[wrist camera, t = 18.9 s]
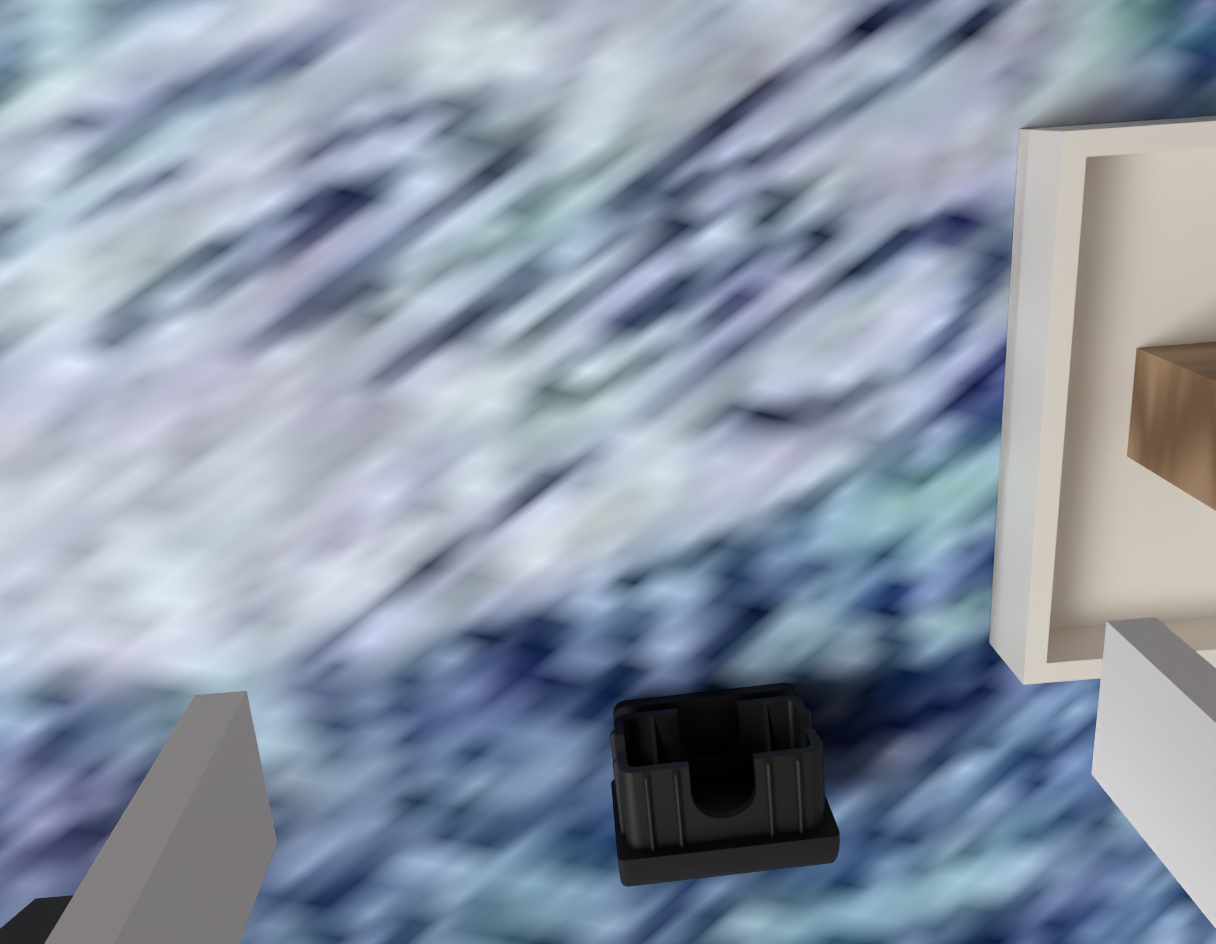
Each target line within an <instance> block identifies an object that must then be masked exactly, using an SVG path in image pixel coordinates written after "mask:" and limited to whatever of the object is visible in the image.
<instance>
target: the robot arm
mask: <svg viewBox="0 0 1216 944" xmlns="http://www.w3.org/2000/svg"><path fill="white" fill-rule="evenodd" d="M1092 775H1093V776H1094V778H1095V779H1096V780H1097V781H1098V783H1099V784H1100V785H1101V786H1102V788H1103V789H1104V790H1105V791H1106V793H1107V794H1108V795H1109V796H1110V798H1111V799H1112V800H1113V801H1114V803H1115V804H1116V805H1117V806H1118V808H1119V809H1120V810H1121V811H1122V813H1123V814H1124V815H1125V816H1126V818H1127V819H1128V820H1129V821H1130V822H1131V824H1132V825H1133V826H1134V827H1135V829H1136V830H1137V831H1138V832H1139V834H1140V835H1141V836H1142V837H1143V839H1144V840H1145V841H1146V842H1147V844H1148V845H1149V846H1150V847H1151V849H1152V850H1153V851H1154V852H1155V854H1156V855H1157V856H1158V857H1159V859H1160V860H1161V861H1162V862H1163V863H1164V865H1165V866H1166V867H1167V868H1168V870H1169V871H1170V872H1171V873H1172V875H1173V876H1174V877H1175V878H1176V880H1177V881H1178V882H1179V883H1180V885H1181V886H1182V887H1183V888H1184V890H1185V891H1186V892H1187V893H1188V895H1189V896H1190V897H1191V898H1192V900H1193V901H1194V902H1195V903H1196V904H1197V906H1198V907H1199V908H1200V909H1201V911H1202V912H1203V913H1204V914H1205V916H1206V917H1207V918H1208V919H1209V921H1210V922H1211V923H1212V924H1213V926H1214V927H1215V928H1216V668H1215V667H1214V666H1213V665H1211V664H1210V663H1209V662H1208V661H1207V660H1205V659H1204V658H1203V657H1202V656H1201V655H1200V654H1198V653H1197V652H1196V651H1195V650H1194V649H1193V648H1191V647H1190V646H1189V645H1188V644H1187V643H1185V642H1184V641H1183V640H1182V639H1181V638H1180V637H1178V636H1177V635H1176V634H1175V633H1174V632H1173V631H1171V630H1170V629H1169V628H1168V627H1167V626H1165V625H1164V624H1163V623H1162V622H1161V621H1160V620H1158V619H1157V618H1156V617H1151V618H1139V619H1127V620H1114V621H1106V631H1105V641H1104V652H1103V662H1102V672H1101V682H1100V692H1099V703H1098V713H1097V723H1096V733H1095V743H1094V754H1093V764H1092ZM276 844H277V841H276V836H275V831H274V826H273V821H272V816H271V811H270V806H269V801H268V796H267V791H266V786H265V781H264V776H263V771H262V766H261V761H260V756H259V751H258V746H257V741H256V736H255V731H254V726H253V721H252V716H251V711H250V706H249V701H248V696H247V691H241V692H228V693H216V694H204V695H195V697H194V698H193V700H192V702H191V703H190V705H189V706H188V708H187V710H186V711H185V713H184V715H183V716H182V718H181V720H180V721H179V723H178V725H177V726H176V728H175V729H174V731H173V733H172V734H171V736H170V738H169V739H168V741H167V743H166V744H165V746H164V748H163V749H162V751H161V753H160V754H159V756H158V757H157V759H156V761H155V762H154V764H153V766H152V767H151V769H150V771H149V772H148V774H147V776H146V777H145V779H144V781H143V782H142V784H141V785H140V787H139V789H138V790H137V792H136V794H135V795H134V797H133V799H132V800H131V802H130V804H129V805H128V807H127V809H126V810H125V812H124V813H123V815H122V817H121V818H120V820H119V822H118V823H117V825H116V827H115V828H114V830H113V832H112V833H111V835H110V837H109V838H108V840H107V841H106V843H105V845H104V846H103V848H102V850H101V851H100V853H99V855H98V856H97V858H96V860H95V861H94V863H93V865H92V866H91V868H90V869H89V871H88V873H87V874H86V876H85V878H84V879H83V881H82V883H81V884H80V886H79V888H78V889H77V891H76V892H75V894H74V895H73V896H61V897H49V898H38V899H35V900H33V901H32V902H31V903H30V904H29V905H28V906H26V907H25V908H24V909H23V910H22V911H20V912H19V913H18V914H17V915H16V916H15V917H13V918H12V919H11V920H10V921H9V922H8V923H6V924H5V925H4V926H3V927H2V928H1V929H0V944H239V943H240V940H241V938H242V935H243V932H244V930H245V927H246V924H247V922H248V919H249V916H250V914H251V911H252V908H253V906H254V903H255V900H256V898H257V895H258V892H259V890H260V887H261V884H262V882H263V879H264V876H265V874H266V871H267V868H268V866H269V863H270V860H271V858H272V855H273V852H274V850H275V847H276Z"/></svg>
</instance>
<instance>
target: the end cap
mask: <svg viewBox="0 0 1216 944" xmlns="http://www.w3.org/2000/svg"><path fill="white" fill-rule="evenodd" d="M613 715H614V727H615V729H614V730H613V731H612V732H611V734H610V737H611V746H612V755H613V770H614V778H615V779H614V780H613V781H612V782H611V786H612V798H613V810H614V821H615V833H616V845H617V856H618V865H619V873H620V879H621V883H622V884H623V885H624V886H637V885H645V884H654V883H663V882H671V881H680V880H689V879H697V878H706V877H715V876H723V875H732V874H741V873H749V872H758V871H767V870H775V869H784V868H793V867H801V866H810V865H819V864H827V863H833V862H834V861H835V860H836V858H837V856H838V852H839V843H840V832H839V829H838V827H837V824H836V822H835V819H834V816H833V814H832V811H831V809H830V806H829V804H828V801H827V799H826V796H825V787H824V762H823V739H822V738H821V737H820V736H819V735H817V734H816V731H815V729H812V724H811V712H810V710H808V709H807V708H806V707H805V705H804V703H803V701H802V699H800V698H799V697H797V695H796V692H795V690H794V687H792V686H791V685H790V684H786V683H780V684H771V685H762V686H753V687H744V688H735V689H727V690H718V691H709V692H700V693H691V694H682V695H674V696H665V697H656V698H647V699H638V700H629V701H623V702H620V703H618V704H617V705H616V706H615V707H614V712H613Z"/></svg>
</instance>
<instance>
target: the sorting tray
mask: <svg viewBox="0 0 1216 944" xmlns="http://www.w3.org/2000/svg"><path fill="white" fill-rule="evenodd" d="M1204 342H1216V116H1203V117H1189V118H1175V119H1160V120H1146V121H1132V122H1117V123H1103V124H1089V125H1074V126H1060V127H1046V128H1031V129H1019V144H1018V161H1017V179H1016V196H1015V213H1014V230H1013V247H1012V264H1011V281H1010V298H1009V315H1008V332H1007V349H1006V366H1005V383H1004V401H1003V418H1002V435H1001V452H1000V469H999V486H998V503H997V520H996V537H995V554H994V571H993V588H992V605H991V623H990V640H989V643H990V644H991V645H992V647H993V648H994V649H995V650H996V652H997V653H998V654H999V655H1000V657H1001V658H1002V659H1003V660H1004V661H1005V663H1006V664H1007V665H1008V666H1009V668H1010V669H1011V670H1012V671H1013V673H1014V674H1015V675H1016V676H1017V677H1018V679H1019V680H1020V681H1021V682H1022V684H1023V685H1024V684H1036V683H1048V682H1060V681H1072V680H1085V679H1097V678H1101V672H1102V662H1103V652H1104V641H1105V631H1106V621H1114V620H1127V619H1139V618H1151V617H1156V618H1157V619H1158V620H1160V621H1161V622H1162V623H1163V624H1164V625H1165V626H1167V627H1168V628H1169V629H1170V630H1171V631H1173V632H1174V633H1175V634H1176V635H1177V636H1178V637H1180V638H1181V639H1182V640H1183V641H1184V642H1185V643H1187V644H1188V645H1189V646H1190V647H1191V648H1193V649H1194V650H1195V651H1196V652H1197V653H1198V654H1200V655H1201V656H1202V657H1203V658H1204V659H1205V660H1207V661H1208V662H1209V663H1210V664H1211V665H1213V666H1214V667H1215V668H1216V511H1215V510H1214V509H1212V508H1210V507H1209V506H1207V505H1205V504H1204V503H1202V502H1201V501H1199V500H1197V499H1196V498H1194V497H1192V496H1191V495H1189V494H1187V493H1186V492H1184V491H1183V490H1181V489H1179V488H1178V487H1176V486H1174V485H1173V484H1171V483H1170V482H1168V481H1166V480H1165V479H1163V478H1161V477H1160V476H1158V475H1156V474H1155V473H1153V472H1152V471H1150V470H1148V469H1147V468H1145V467H1143V466H1142V465H1140V464H1138V463H1137V462H1135V461H1134V460H1132V459H1130V458H1129V457H1127V449H1128V438H1129V426H1130V415H1131V404H1132V393H1133V382H1134V371H1135V360H1136V349H1137V348H1145V347H1157V346H1168V345H1180V344H1192V343H1204Z"/></svg>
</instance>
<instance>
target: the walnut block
mask: <svg viewBox="0 0 1216 944" xmlns="http://www.w3.org/2000/svg"><path fill="white" fill-rule="evenodd" d="M1127 457H1129V458H1130V459H1132V460H1134V461H1135V462H1137V463H1138V464H1140V465H1142V466H1143V467H1145V468H1147V469H1148V470H1150V471H1152V472H1153V473H1155V474H1156V475H1158V476H1160V477H1161V478H1163V479H1165V480H1166V481H1168V482H1170V483H1171V484H1173V485H1174V486H1176V487H1178V488H1179V489H1181V490H1183V491H1184V492H1186V493H1187V494H1189V495H1191V496H1192V497H1194V498H1196V499H1197V500H1199V501H1201V502H1202V503H1204V504H1205V505H1207V506H1209V507H1210V508H1212V509H1214V510H1215V511H1216V342H1204V343H1192V344H1180V345H1168V346H1157V347H1145V348H1137V349H1136V360H1135V371H1134V382H1133V393H1132V404H1131V415H1130V426H1129V438H1128V449H1127Z"/></svg>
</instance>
